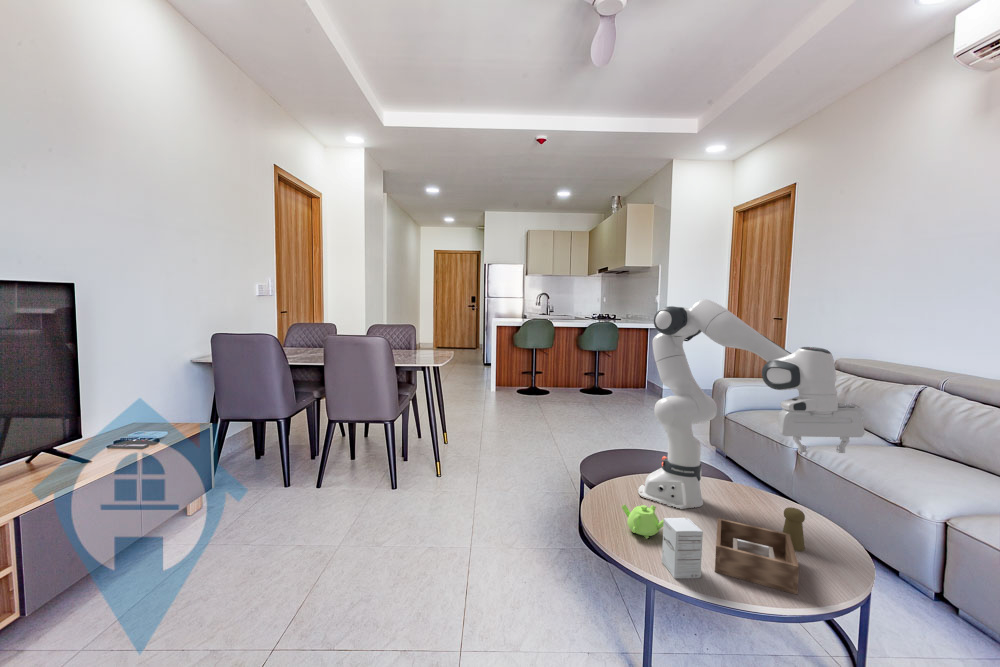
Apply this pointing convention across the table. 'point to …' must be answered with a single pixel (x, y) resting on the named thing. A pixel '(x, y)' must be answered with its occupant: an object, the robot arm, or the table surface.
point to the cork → (794, 527)
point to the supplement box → (682, 547)
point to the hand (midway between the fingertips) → (821, 452)
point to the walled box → (756, 555)
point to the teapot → (643, 520)
